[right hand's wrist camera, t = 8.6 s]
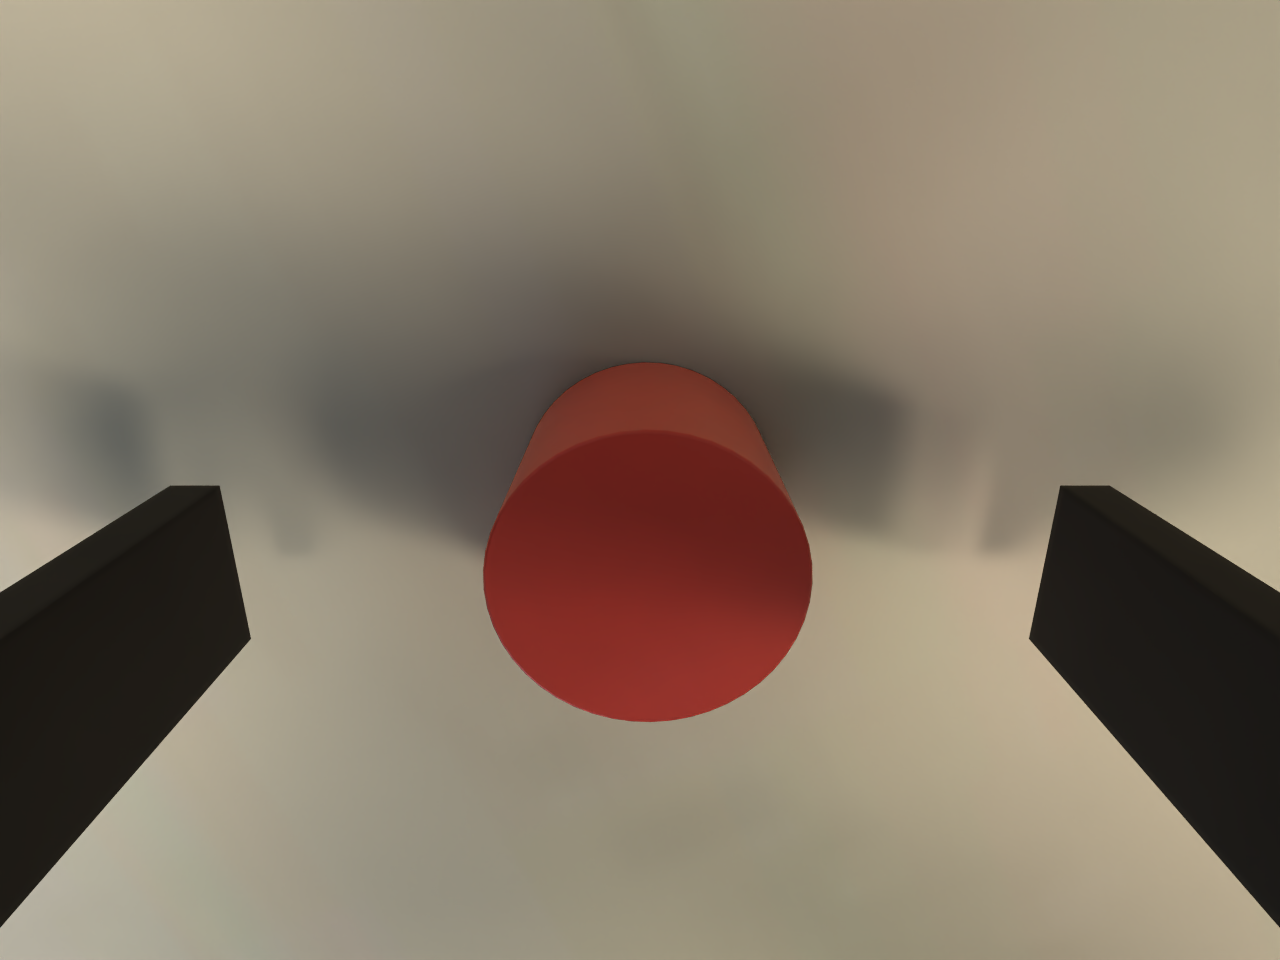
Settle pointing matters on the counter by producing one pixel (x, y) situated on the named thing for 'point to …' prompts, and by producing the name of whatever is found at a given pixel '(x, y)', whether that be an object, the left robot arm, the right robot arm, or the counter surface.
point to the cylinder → (647, 549)
